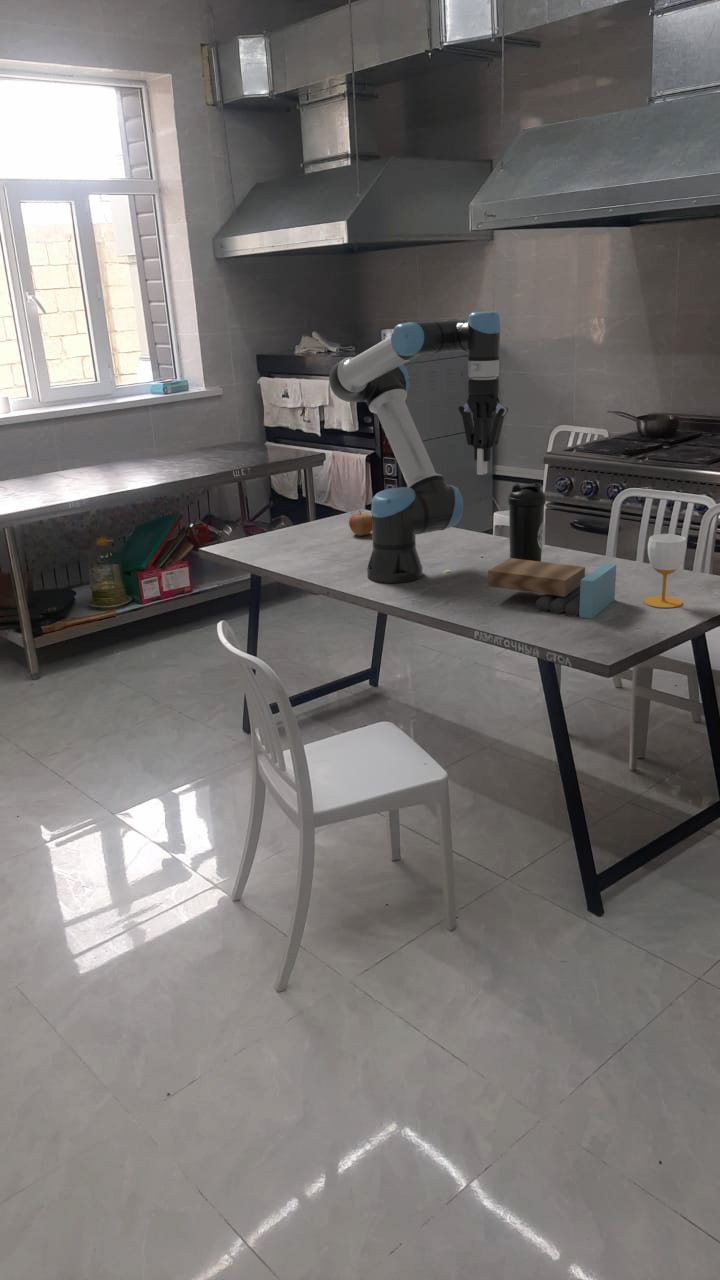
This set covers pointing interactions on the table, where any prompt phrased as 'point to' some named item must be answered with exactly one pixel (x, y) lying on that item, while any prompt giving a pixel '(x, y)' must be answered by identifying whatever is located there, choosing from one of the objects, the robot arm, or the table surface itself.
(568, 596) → the roller mid
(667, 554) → the cup
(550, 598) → the roller rear
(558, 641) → the table surface
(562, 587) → the slab
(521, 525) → the water bottle
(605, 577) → the block
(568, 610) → the cylinder
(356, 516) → the apple
